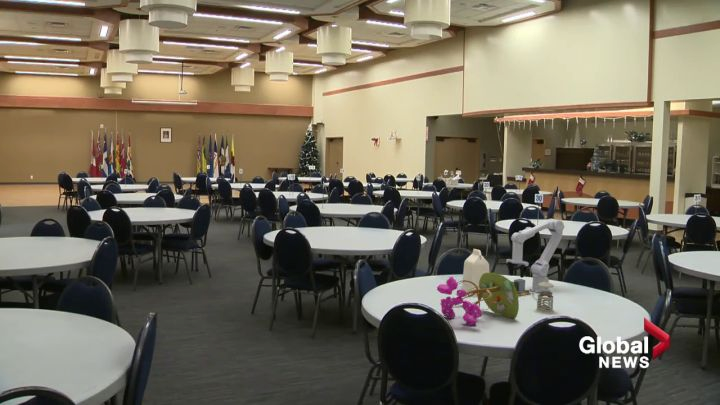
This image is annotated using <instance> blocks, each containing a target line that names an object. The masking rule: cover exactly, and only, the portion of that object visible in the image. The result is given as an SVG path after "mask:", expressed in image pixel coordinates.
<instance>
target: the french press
mask: <svg viewBox="0 0 720 405" xmlns="http://www.w3.org/2000/svg"><path fill="white" fill-rule="evenodd" d="M545 266H546V276H547V275H548V274H547V266H549V267H550V264H549V263H548V264H547V263H546V264H545ZM547 277H548V276H547ZM538 286H541V287H548V288H554V287H555V285H554V284H553V283H551V282H550V281H549V282H541V283H539V284H538ZM536 288H538V287H536ZM533 290H535V288H534V289H533ZM537 293H538V294H537V298H536V296H535V293H534V291H531V295H532V298H533V299H534V300H535V301H536V309H535V312H536V313H540V314H550V315H551V314H555V310H554V295H553V294H554V293H553V292H552V291H541V292H537Z"/></svg>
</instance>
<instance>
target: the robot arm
mask: <svg viewBox="0 0 720 405" xmlns="http://www.w3.org/2000/svg"><path fill="white" fill-rule="evenodd" d="M546 229H547V230H548V231H549V232H550V236H551V237H550V239H549V241H548V242H547V244H546V246H545V248H544V250H543V252H542V253H541V255H540V258H539V259H537V260H535V262H534V263H533V264H532V265H531V267H530V272H531V274H532V286H531V287H532V288H531V289H529V290H530V291H531V292H532V291H534V292H535V293H538V292H541V291H546V292H547V291H548V292H551V291H550V289H549V287H541V286H538V284H539V283H541V282H549V283H550V280H549V277H548V276H546V266H545V264H546V263H547V264H549V262H550V260H551V259H552V257H553V255H554V254H555V251H556V249H557V248H558V245H559V244H560V242H561V240H562V238H563V232H564V229H565V224H564V222H563V221H562V220H561V219H554V218H548V219H545V220H544V221H543V222H541V223H539V224H537V225H535V226H534V227H533V226H532V227H531V226H527V227H525V229H523V230H519V231H518V232H514V233H513V234H512V235H511V237H510V240H511V241H512V254H511V255H512V256H511V259H510V258H507V259H506V266H507V270H508V272H509V276H513V275H514V269H515V265H519V271H520V279H521V278H522V279H523V278H524V277H525V274H526V271H527V269H528V268H529V262H528V261H525V260H523V254H524V253H523V252H524V251H523V250H524V242H525V241H527V240H528V239H530V238H532V237H534V236H535V234H536V233H539V232H541V231H543V230H546ZM549 268H550V265H549V266H547V275H548V273H549ZM536 287H538V288H536ZM534 288H535V290H533V289H534Z"/></svg>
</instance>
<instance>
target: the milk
mask: <svg viewBox="0 0 720 405" xmlns="http://www.w3.org/2000/svg"><path fill="white" fill-rule="evenodd" d="M462 273H463V274H462V280H466V281H470V282H473V283H474V284H476V286H479V281H480V278H481V276H482V275H483V274H484V273H490V263H489V262H488V260H487V259H486V258H485V257H484V256H483V255H482V252H481V250H480V249H476V248H473V250H472V253H471V254H470V255H469V256H468V257H467V258H466V259H465V260H464V263H463V272H462ZM461 284H462V287H461V289H463V290H465V291H466V293H467V292H469V291H472V290H476V288H474V287H475V286H474V285H473V284H471V283H469V282H463V281H462V283H461ZM472 288H473V289H472ZM470 289H471V290H470ZM478 289H479V287H478ZM468 290H469V291H468ZM471 294H473V293H470V294H469V295H471ZM471 297H473V298H478V297H477V293H476V294H474V295H473V296H471ZM471 297H470V298H471Z"/></svg>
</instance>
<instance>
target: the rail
mask: <svg viewBox="0 0 720 405" xmlns="http://www.w3.org/2000/svg"><path fill="white" fill-rule="evenodd" d="M510 281H511V280H510ZM511 282H512V283H513V285H514V281H513V280H512V281H511ZM517 294H518V298H520V297H522V296H523V297H525V296H529V295H532V291H531V292H530V289H525V291H519V292H517Z"/></svg>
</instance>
